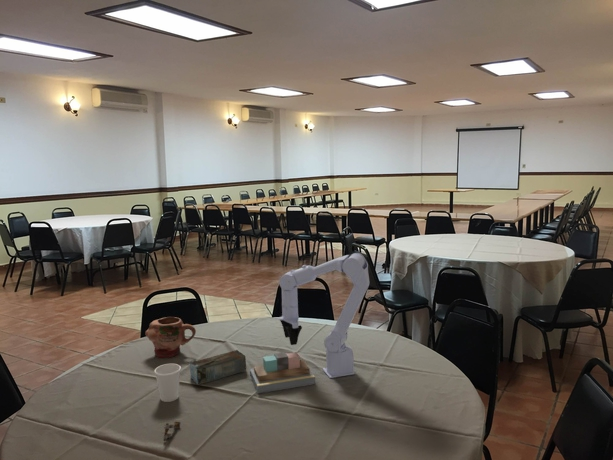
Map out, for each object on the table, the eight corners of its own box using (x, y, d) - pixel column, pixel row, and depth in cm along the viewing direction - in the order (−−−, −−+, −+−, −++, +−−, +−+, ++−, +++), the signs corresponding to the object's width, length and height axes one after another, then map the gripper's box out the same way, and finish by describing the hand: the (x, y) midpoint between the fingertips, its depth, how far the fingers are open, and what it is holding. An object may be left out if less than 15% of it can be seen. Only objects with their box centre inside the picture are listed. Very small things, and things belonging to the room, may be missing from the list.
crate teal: (274, 366, 172) (274, 355, 171) (277, 370, 168) (276, 359, 168) (263, 367, 171) (263, 356, 170) (265, 372, 167) (265, 361, 166)
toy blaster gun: (160, 441, 134) (162, 423, 136) (173, 437, 142) (175, 420, 143) (166, 441, 134) (168, 423, 135) (178, 437, 142) (180, 420, 143)
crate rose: (296, 363, 174) (296, 352, 174) (299, 367, 170) (299, 356, 170) (285, 364, 173) (285, 353, 172) (288, 369, 169) (288, 358, 169)
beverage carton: (189, 377, 175) (188, 360, 174) (238, 364, 186) (237, 347, 185) (197, 385, 169) (196, 367, 168) (247, 371, 179) (247, 354, 178)
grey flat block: (303, 367, 181) (303, 360, 180) (315, 383, 168) (315, 376, 167) (250, 375, 175) (249, 368, 175) (257, 393, 162) (257, 386, 161)
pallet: (303, 364, 177) (302, 347, 176) (309, 373, 170) (309, 356, 169) (254, 372, 172) (253, 354, 171) (258, 381, 165) (257, 363, 164)
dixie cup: (187, 393, 163) (186, 365, 161) (173, 405, 155) (171, 375, 154) (166, 389, 166) (164, 362, 164) (151, 401, 158) (148, 372, 156)
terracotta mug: (199, 346, 204) (197, 313, 202) (195, 357, 192) (193, 323, 190) (150, 348, 202) (147, 316, 200) (143, 360, 190) (140, 326, 188)
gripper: (274, 300, 184) (275, 335, 186) (284, 312, 170) (285, 349, 172) (292, 298, 186) (293, 332, 188) (303, 309, 172) (304, 346, 174)
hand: (290, 340), depth 180 cm, fingers open, 7 cm apart
